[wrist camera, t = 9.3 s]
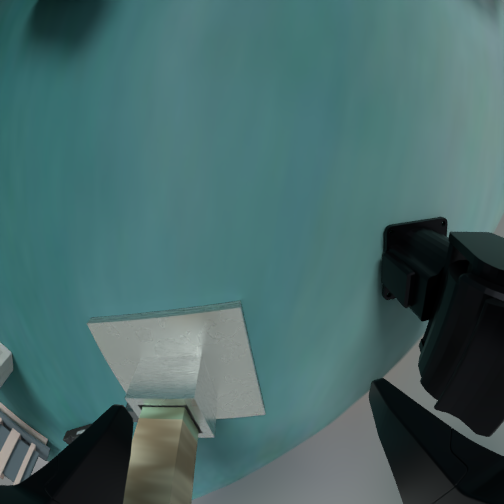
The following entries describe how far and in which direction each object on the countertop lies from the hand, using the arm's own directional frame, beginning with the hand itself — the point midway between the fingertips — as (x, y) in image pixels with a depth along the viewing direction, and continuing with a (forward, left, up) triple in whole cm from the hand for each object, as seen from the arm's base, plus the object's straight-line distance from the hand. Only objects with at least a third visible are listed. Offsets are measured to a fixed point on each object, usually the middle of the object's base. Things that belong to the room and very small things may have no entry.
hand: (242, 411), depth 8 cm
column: (+8, +10, -7) cm, 14 cm away
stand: (+8, +10, -13) cm, 18 cm away
